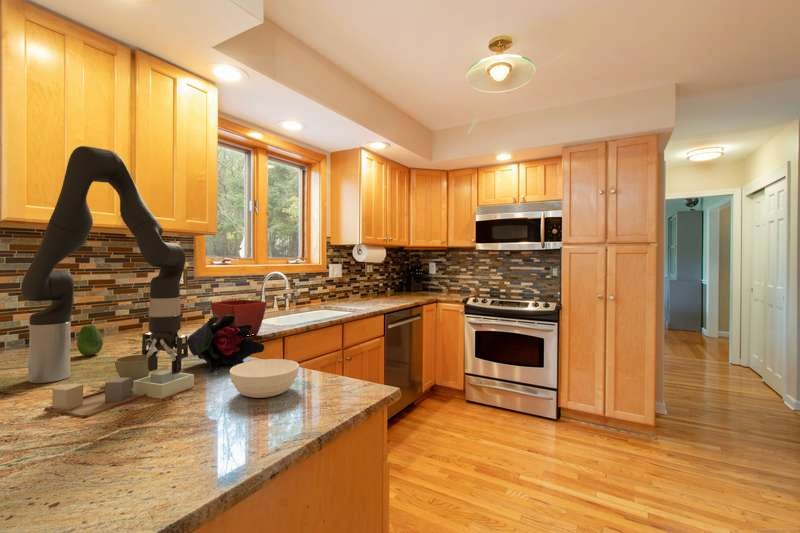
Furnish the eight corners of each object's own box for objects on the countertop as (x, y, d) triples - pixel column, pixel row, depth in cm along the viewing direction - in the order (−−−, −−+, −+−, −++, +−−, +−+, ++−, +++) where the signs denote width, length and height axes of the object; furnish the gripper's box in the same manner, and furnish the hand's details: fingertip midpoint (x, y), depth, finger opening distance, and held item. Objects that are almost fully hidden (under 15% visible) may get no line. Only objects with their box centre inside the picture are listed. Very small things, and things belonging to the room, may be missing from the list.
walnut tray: (44, 411, 90) (44, 407, 90) (113, 390, 105) (113, 387, 105) (85, 419, 86) (85, 415, 86) (150, 396, 101) (150, 392, 101)
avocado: (73, 356, 143) (73, 324, 143) (99, 352, 149) (99, 322, 149) (80, 359, 138) (80, 326, 138) (106, 355, 145) (106, 324, 145)
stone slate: (150, 392, 103) (150, 373, 103) (163, 387, 107) (163, 370, 107) (161, 393, 102) (161, 375, 102) (174, 389, 106) (174, 371, 106)
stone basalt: (104, 402, 95) (105, 382, 95) (115, 396, 99) (115, 377, 99) (121, 401, 96) (121, 382, 96) (131, 396, 100) (131, 377, 100)
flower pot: (133, 388, 108) (134, 363, 108) (105, 385, 110) (105, 360, 110) (162, 377, 117) (162, 355, 117) (135, 375, 119) (136, 353, 119)
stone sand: (52, 409, 90) (52, 388, 90) (69, 403, 94) (69, 383, 94) (66, 410, 89) (66, 389, 89) (83, 404, 93) (83, 384, 93)
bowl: (312, 388, 110) (312, 363, 110) (265, 409, 93) (265, 380, 93) (264, 379, 117) (265, 356, 117) (214, 398, 101) (214, 371, 101)
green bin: (133, 395, 101) (133, 381, 101) (166, 384, 111) (166, 370, 111) (161, 400, 98) (161, 385, 98) (193, 388, 108) (193, 374, 108)
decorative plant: (228, 382, 142) (276, 375, 126) (156, 368, 125) (202, 357, 108) (241, 330, 152) (288, 316, 136) (176, 310, 134) (221, 291, 118)
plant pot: (232, 341, 173) (232, 304, 173) (209, 336, 183) (209, 302, 183) (267, 335, 189) (267, 301, 189) (244, 331, 199) (244, 299, 199)
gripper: (133, 314, 103) (132, 373, 103) (172, 317, 99) (172, 378, 99) (158, 311, 110) (157, 366, 110) (196, 313, 106) (195, 370, 106)
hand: (164, 371), depth 105 cm, fingers open, 8 cm apart
